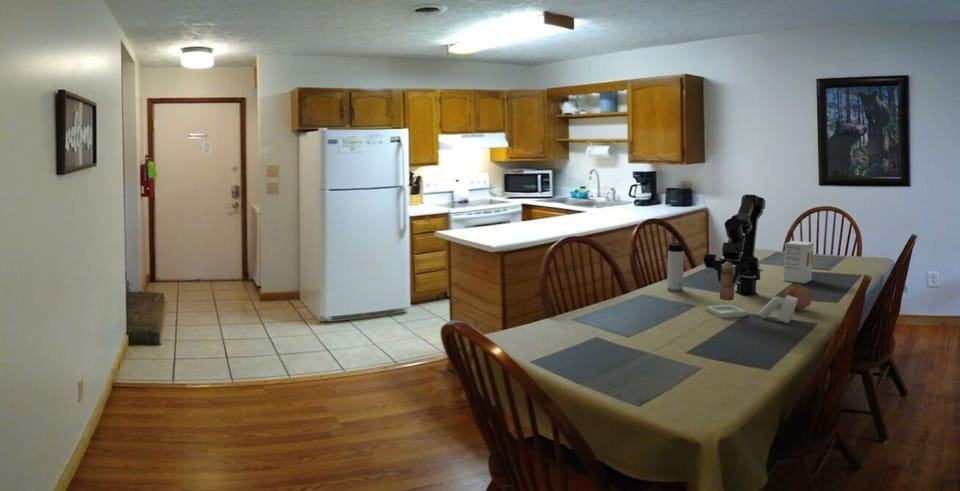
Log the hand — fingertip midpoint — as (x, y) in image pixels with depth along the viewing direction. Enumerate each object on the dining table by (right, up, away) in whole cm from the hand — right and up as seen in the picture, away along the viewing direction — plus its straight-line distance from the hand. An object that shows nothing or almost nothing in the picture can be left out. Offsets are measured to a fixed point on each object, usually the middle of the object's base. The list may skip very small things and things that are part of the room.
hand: (726, 281), depth 246 cm
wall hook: (+15, -13, -6) cm, 21 cm away
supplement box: (+51, -2, +55) cm, 74 cm away
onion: (+28, -11, +6) cm, 31 cm away
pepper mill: (+1, -6, +2) cm, 7 cm away
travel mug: (-7, -6, +41) cm, 42 cm away
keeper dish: (+1, -12, +3) cm, 12 cm away
